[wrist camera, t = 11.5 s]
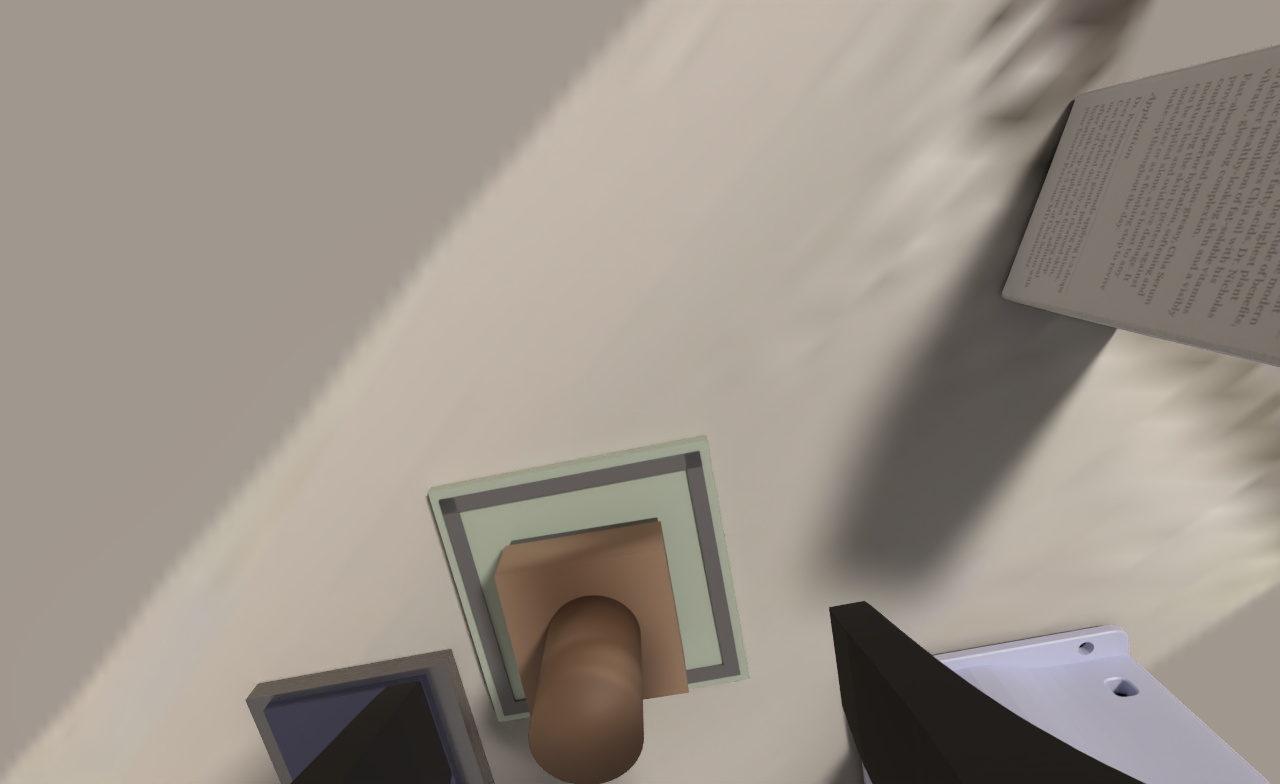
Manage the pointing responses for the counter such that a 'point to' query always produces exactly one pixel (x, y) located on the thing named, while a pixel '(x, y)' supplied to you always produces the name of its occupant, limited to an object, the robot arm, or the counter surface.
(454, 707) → the ink pad
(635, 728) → the stamp
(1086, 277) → the skincare box
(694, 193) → the counter surface
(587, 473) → the pale green flat square
